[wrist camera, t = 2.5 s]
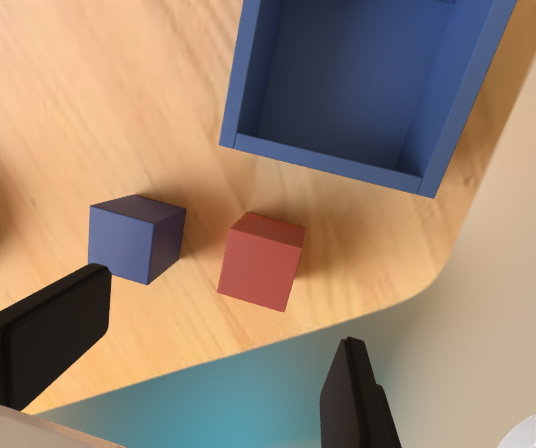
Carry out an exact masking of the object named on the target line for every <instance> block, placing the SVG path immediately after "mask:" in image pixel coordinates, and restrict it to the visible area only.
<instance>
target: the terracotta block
mask: <svg viewBox="0 0 536 448" xmlns="http://www.w3.org/2000/svg"><path fill="white" fill-rule="evenodd" d="M304 232H305V228H304V227H301V226H297V225H293V224H290V223H286V222H282V221H278V220H275V219H271V218H267V217H264V216H260V215H256V214H252V213H249V212H247V213H246V214H245V215H243V216H242V217H241V218H240V219H239V220H238V221H237V222H236V223H235V224H234V225H233V226H232V227H231V228H230V229H229V234H228V239H227V244H226V249H225V254H224V259H223V264H222V269H221V274H220V279H219V284H218V289H217V293H220V294H223V295H227V296H230V297H234V298H237V299H240V300H244V301H247V302H250V303H254V304H257V305H260V306H264V307H267V308H270V309H274V310H277V311H280V312H285V308H286V305H287V301H288V298H289V294H290V291H291V287H292V284H293V280H294V277H295V274H296V270H297V267H298V263H299V260H300V256H301V253H302V249H303V241H304Z"/></svg>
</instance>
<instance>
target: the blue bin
mask: <svg viewBox="0 0 536 448" xmlns="http://www.w3.org/2000/svg"><path fill="white" fill-rule="evenodd" d="M516 2H517V0H243V6H242V12H241V18H240V24H239V29H238V35H237V41H236V47H235V53H234V59H233V65H232V70H231V76H230V82H229V88H228V94H227V100H226V105H225V111H224V117H223V123H222V129H221V135H220V140H219V145H220V146H224V147H228V148H232V149H236V150H240V151H244V152H248V153H252V154H256V155H260V156H264V157H268V158H272V159H276V160H280V161H284V162H288V163H292V164H296V165H300V166H304V167H308V168H312V169H316V170H320V171H324V172H328V173H332V174H336V175H340V176H344V177H348V178H352V179H356V180H360V181H364V182H368V183H372V184H377V185H381V186H385V187H389V188H393V189H397V190H401V191H405V192H409V193H413V194H417V195H421V196H425V197H429V198H435V195H436V193H437V190H438V188H439V186H440V183H441V181H442V178H443V176H444V174H445V171H446V169H447V166H448V164H449V162H450V159H451V157H452V155H453V152H454V150H455V147H456V145H457V143H458V140H459V138H460V135H461V133H462V131H463V128H464V126H465V124H466V121H467V119H468V116H469V114H470V112H471V109H472V107H473V104H474V102H475V100H476V97H477V95H478V92H479V90H480V88H481V85H482V83H483V81H484V78H485V76H486V73H487V71H488V69H489V66H490V64H491V61H492V59H493V57H494V54H495V52H496V50H497V47H498V45H499V42H500V40H501V38H502V35H503V33H504V30H505V28H506V26H507V23H508V21H509V18H510V16H511V14H512V11H513V9H514V7H515V4H516Z"/></svg>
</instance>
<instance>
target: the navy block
mask: <svg viewBox="0 0 536 448" xmlns="http://www.w3.org/2000/svg"><path fill="white" fill-rule="evenodd" d="M185 213H186V209H184V208H181V207H177V206H173V205H170V204H166V203H162V202H159V201H155V200H152V199H148V198H144V197H141V196H137V195H130V196H126V197H122V198H118V199H114V200H110V201H106V202H102V203H98V204H94V205H91V206H90V222H89V247H88V264H90V263H97V264H101V265H104V266H107V267H108V268H109V271H110V272H111V273H112V275H115V276H118V277H122V278H125V279H128V280H132V281H135V282H138V283H141V284H145V285H149V284H150V283H151V282H152V281H153V280H155V279H156V278H157V277H158V276H160V275H161V274H162V273H163V272H164V271H166V270H167V269H168V268H169V267H171V266H172V265H173V264H174V263H175V262H177V261H178V260H179V254H180V247H181V240H182V233H183V226H184V220H185Z"/></svg>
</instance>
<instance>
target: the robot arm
mask: <svg viewBox="0 0 536 448" xmlns="http://www.w3.org/2000/svg"><path fill="white" fill-rule="evenodd" d="M111 279H112V273H111V272H110V271H109V268H108V267H107V266H104V265H101V264H97V263H90V264H88V265H86V266H84V267H82V268H80V269H78V270H77V271H75V272H73V273H71V274H69V275H67V276H65V277H63V278H62V279H60V280H58V281H56V282H54V283H52V284H50V285H48V286H47V287H45V288H43V289H41V290H39V291H37V292H35V293H33V294H32V295H30V296H28V297H26V298H24V299H22V300H20V301H18V302H17V303H15V304H13V305H11V306H9V307H7V308H5V309H4V310H2V311H0V448H127V447H124V446H121V445H118V444H115V443H112V442H110V441H106V440H103V439H101V438H98V437H95V436H92V435H89V434H86V433H83V432H80V431H77V430H74V429H71V428H68V427H65V426H62V425H59V424H56V423H53V422H50V421H47V420H44V419H41V418H38V417H35V416H32V415H29V414H26V413H23V412H20V411H21V410H23V409H24V408H26V407H27V406H28V405H29V404H30V403H31V402H32V401H33V400H34V399H35V398H36V397H37V396H39V395H40V394H41V393H42V392H43V391H44V390H45V389H46V388H47V387H48V386H49V385H51V384H52V383H53V382H54V381H55V380H56V379H57V378H58V377H59V376H60V375H61V374H62V373H64V372H65V371H66V370H67V369H68V368H69V367H70V366H71V365H72V364H73V363H74V362H75V361H77V360H78V359H79V358H80V357H81V356H82V355H83V354H84V353H85V352H86V351H87V350H89V349H90V348H91V347H92V346H93V345H94V344H95V343H96V342H97V341H98V340H99V339H100V338H102V337H103V336H104V335H105V333H106V331H107V329H108V325H109V310H110V294H111ZM320 421H321V447H322V448H402V447H401V444H400V441H399V438H398V434H397V431H396V428H395V424H394V421H393V418H392V415H391V411H390V408H389V405H388V402H387V398H386V395H385V392H384V390H383V387H382V386H381V385H378V384H376V382H375V378H374V374H373V371H372V368H371V364H370V360H369V357H368V353H367V350H366V346H365V343H364V341H362V340H359V339H355V338H352V337H347V339H346V340H345V339H342V340H341V341H340V344H339V346H338V349H337V352H336V354H335V357H334V360H333V362H332V365H331V368H330V370H329V373H328V375H327V378H326V381H325V383H324V386H323V389H322V392H321V396H320Z"/></svg>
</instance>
